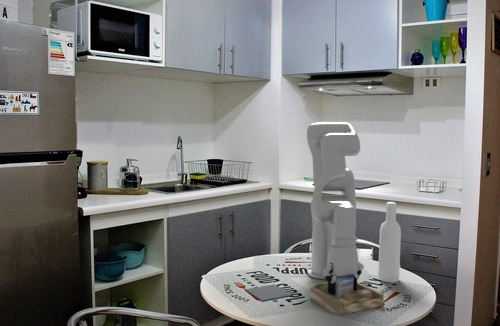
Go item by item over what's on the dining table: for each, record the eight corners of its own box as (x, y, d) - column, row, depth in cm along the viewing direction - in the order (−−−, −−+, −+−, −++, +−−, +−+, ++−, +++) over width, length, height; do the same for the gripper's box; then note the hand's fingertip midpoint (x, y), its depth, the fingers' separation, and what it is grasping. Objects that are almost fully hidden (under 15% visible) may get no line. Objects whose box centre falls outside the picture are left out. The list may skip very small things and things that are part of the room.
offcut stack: (367, 301, 171) (368, 288, 170) (375, 305, 168) (375, 291, 167) (334, 308, 164) (335, 295, 164) (341, 312, 161) (342, 298, 160)
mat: (274, 285, 186) (274, 284, 186) (292, 295, 175) (292, 294, 175) (245, 290, 180) (245, 289, 180) (262, 301, 170) (262, 300, 170)
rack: (352, 290, 181) (352, 277, 181) (383, 305, 167) (383, 290, 167) (310, 299, 172) (310, 284, 172) (339, 315, 159) (339, 300, 158)
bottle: (391, 284, 189) (394, 205, 186) (373, 279, 194) (376, 202, 192) (403, 280, 194) (406, 203, 191) (385, 274, 200) (388, 200, 197)
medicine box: (339, 305, 167) (340, 279, 167) (328, 301, 171) (329, 276, 170) (353, 299, 173) (354, 274, 172) (342, 295, 176) (343, 271, 175)
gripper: (356, 237, 177) (355, 285, 178) (316, 242, 169) (315, 292, 170) (371, 241, 170) (369, 291, 172) (330, 247, 162) (328, 299, 164)
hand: (342, 291), depth 171 cm, fingers closed on medicine box, 8 cm apart
